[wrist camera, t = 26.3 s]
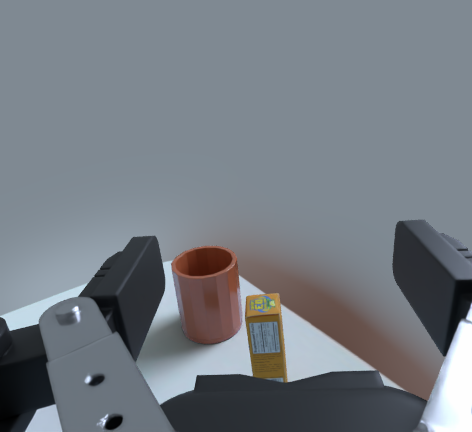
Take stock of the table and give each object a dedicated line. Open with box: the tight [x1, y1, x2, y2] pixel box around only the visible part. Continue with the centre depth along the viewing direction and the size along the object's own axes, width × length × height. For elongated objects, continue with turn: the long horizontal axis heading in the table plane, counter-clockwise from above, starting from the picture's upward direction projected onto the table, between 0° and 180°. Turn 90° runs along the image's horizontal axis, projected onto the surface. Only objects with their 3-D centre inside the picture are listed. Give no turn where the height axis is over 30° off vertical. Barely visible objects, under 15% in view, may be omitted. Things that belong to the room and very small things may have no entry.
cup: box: [171, 246, 242, 344], centre depth 44 cm, size 8×8×9 cm
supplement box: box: [245, 293, 287, 382], centre depth 34 cm, size 3×3×10 cm
